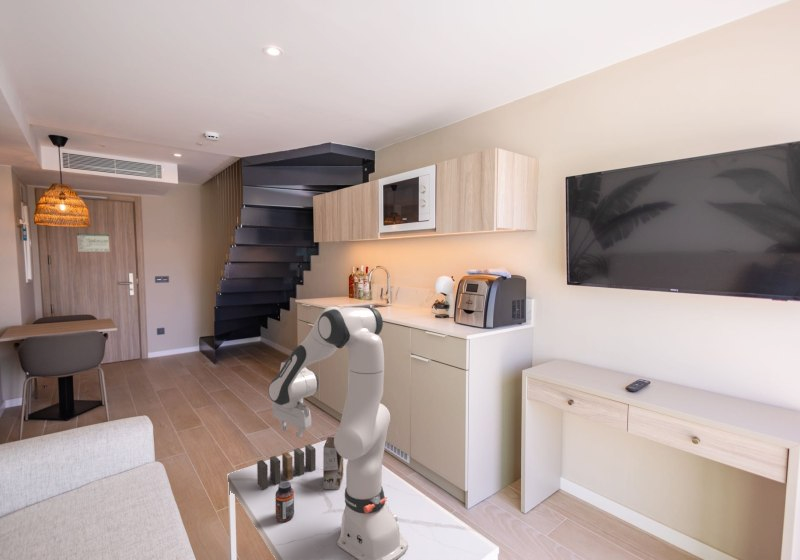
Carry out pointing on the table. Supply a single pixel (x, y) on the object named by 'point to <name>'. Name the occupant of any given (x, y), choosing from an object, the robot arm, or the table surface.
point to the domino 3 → (287, 466)
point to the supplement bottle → (284, 502)
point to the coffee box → (332, 466)
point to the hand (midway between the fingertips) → (291, 433)
